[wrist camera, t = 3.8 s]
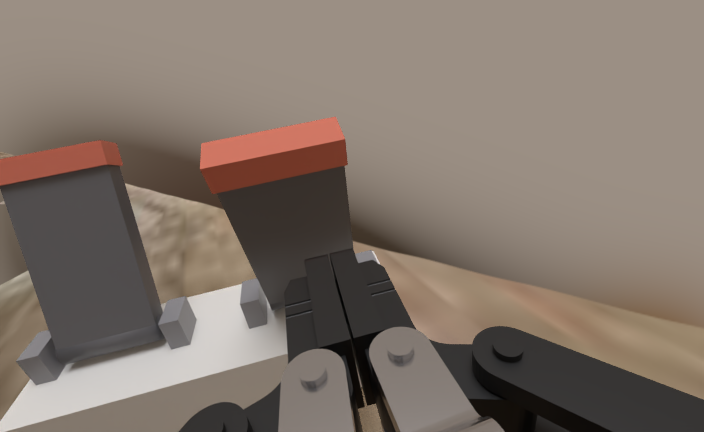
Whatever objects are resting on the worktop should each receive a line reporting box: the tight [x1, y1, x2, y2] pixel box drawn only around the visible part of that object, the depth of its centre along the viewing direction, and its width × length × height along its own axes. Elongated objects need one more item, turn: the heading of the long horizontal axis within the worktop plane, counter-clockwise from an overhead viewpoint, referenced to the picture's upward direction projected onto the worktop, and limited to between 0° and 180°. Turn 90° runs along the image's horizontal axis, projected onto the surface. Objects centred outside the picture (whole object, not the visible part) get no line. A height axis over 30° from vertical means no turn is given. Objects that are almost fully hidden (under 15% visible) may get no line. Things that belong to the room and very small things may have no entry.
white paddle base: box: [0, 250, 380, 432], centre depth 21 cm, size 20×7×6 cm, turn 102°
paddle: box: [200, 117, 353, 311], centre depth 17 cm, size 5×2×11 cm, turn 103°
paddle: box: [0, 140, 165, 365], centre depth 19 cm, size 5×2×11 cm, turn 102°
